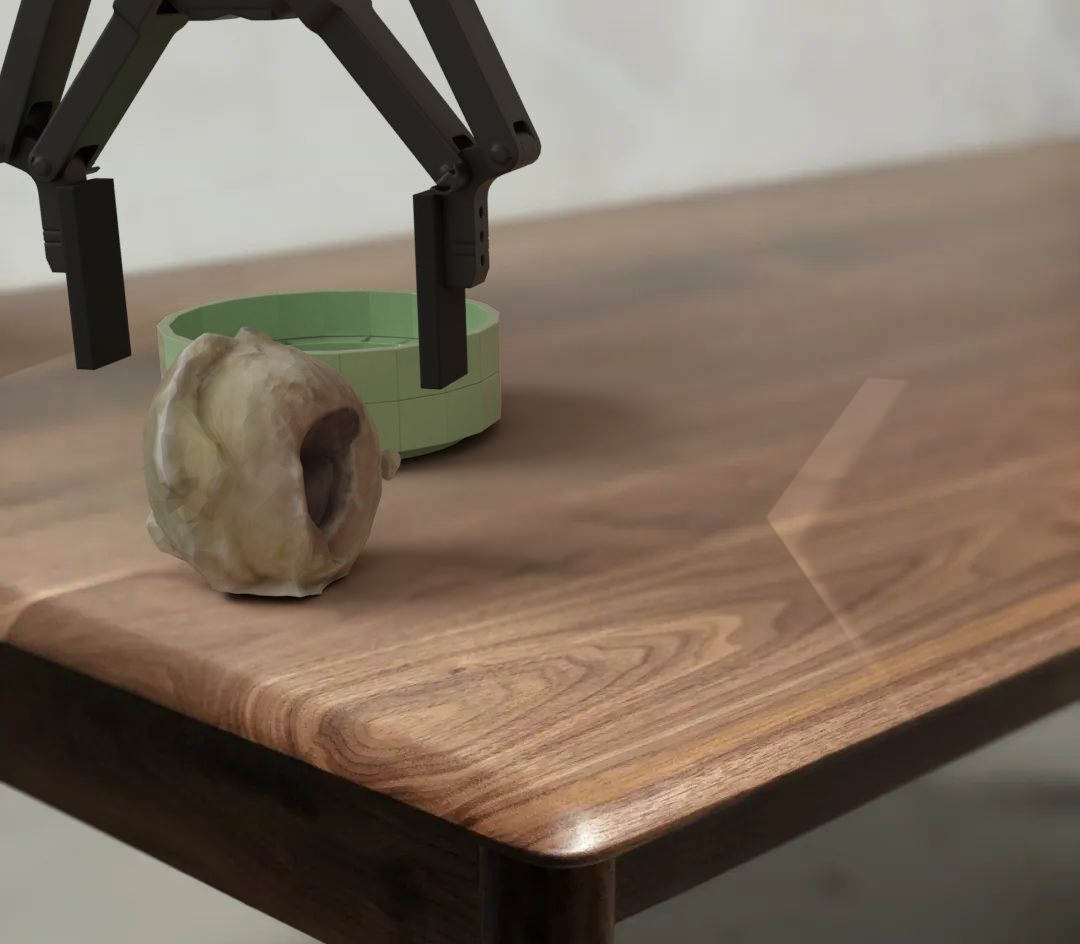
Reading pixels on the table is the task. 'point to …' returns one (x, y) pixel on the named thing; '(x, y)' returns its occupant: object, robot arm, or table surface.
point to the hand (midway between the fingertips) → (269, 372)
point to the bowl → (366, 356)
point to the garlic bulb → (261, 466)
